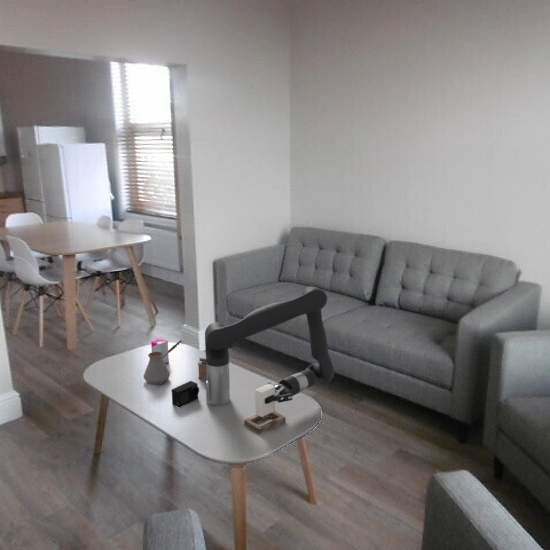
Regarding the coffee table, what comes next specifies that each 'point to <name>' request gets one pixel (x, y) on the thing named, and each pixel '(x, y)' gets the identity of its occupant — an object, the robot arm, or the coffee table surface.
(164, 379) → the coffee pot
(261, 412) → the key block
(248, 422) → the frame
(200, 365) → the lighter
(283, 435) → the coffee table surface
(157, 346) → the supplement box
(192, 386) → the digital camera
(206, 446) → the coffee table surface
